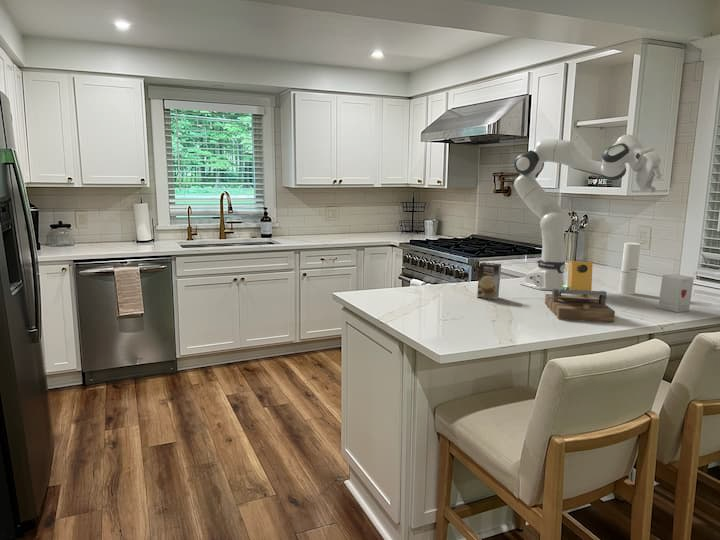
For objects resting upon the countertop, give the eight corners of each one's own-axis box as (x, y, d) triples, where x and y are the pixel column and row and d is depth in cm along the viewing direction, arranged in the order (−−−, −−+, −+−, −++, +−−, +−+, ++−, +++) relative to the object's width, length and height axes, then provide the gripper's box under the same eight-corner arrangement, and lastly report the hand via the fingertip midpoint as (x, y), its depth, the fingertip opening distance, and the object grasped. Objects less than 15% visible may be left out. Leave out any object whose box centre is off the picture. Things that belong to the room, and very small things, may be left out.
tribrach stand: (544, 303, 238) (546, 283, 236) (593, 306, 235) (596, 285, 234) (558, 319, 213) (560, 296, 211) (613, 322, 210) (616, 298, 208)
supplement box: (677, 312, 228) (681, 278, 226) (657, 307, 236) (661, 274, 234) (689, 310, 233) (694, 277, 230) (670, 306, 240) (674, 273, 238)
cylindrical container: (636, 295, 261) (642, 244, 257) (620, 294, 262) (626, 244, 258) (632, 292, 268) (638, 242, 264) (616, 291, 269) (622, 242, 265)
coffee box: (476, 297, 246) (478, 263, 244) (479, 295, 252) (481, 261, 249) (496, 300, 243) (498, 265, 240) (499, 297, 248) (501, 263, 246)
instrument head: (553, 292, 233) (555, 262, 233) (592, 294, 231) (593, 263, 231) (564, 293, 215) (566, 259, 215) (606, 295, 213) (607, 261, 213)
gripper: (629, 179, 251) (643, 201, 243) (639, 148, 234) (656, 171, 226) (642, 175, 250) (657, 197, 243) (654, 144, 233) (670, 166, 226)
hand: (656, 184), depth 234 cm, fingers open, 8 cm apart
